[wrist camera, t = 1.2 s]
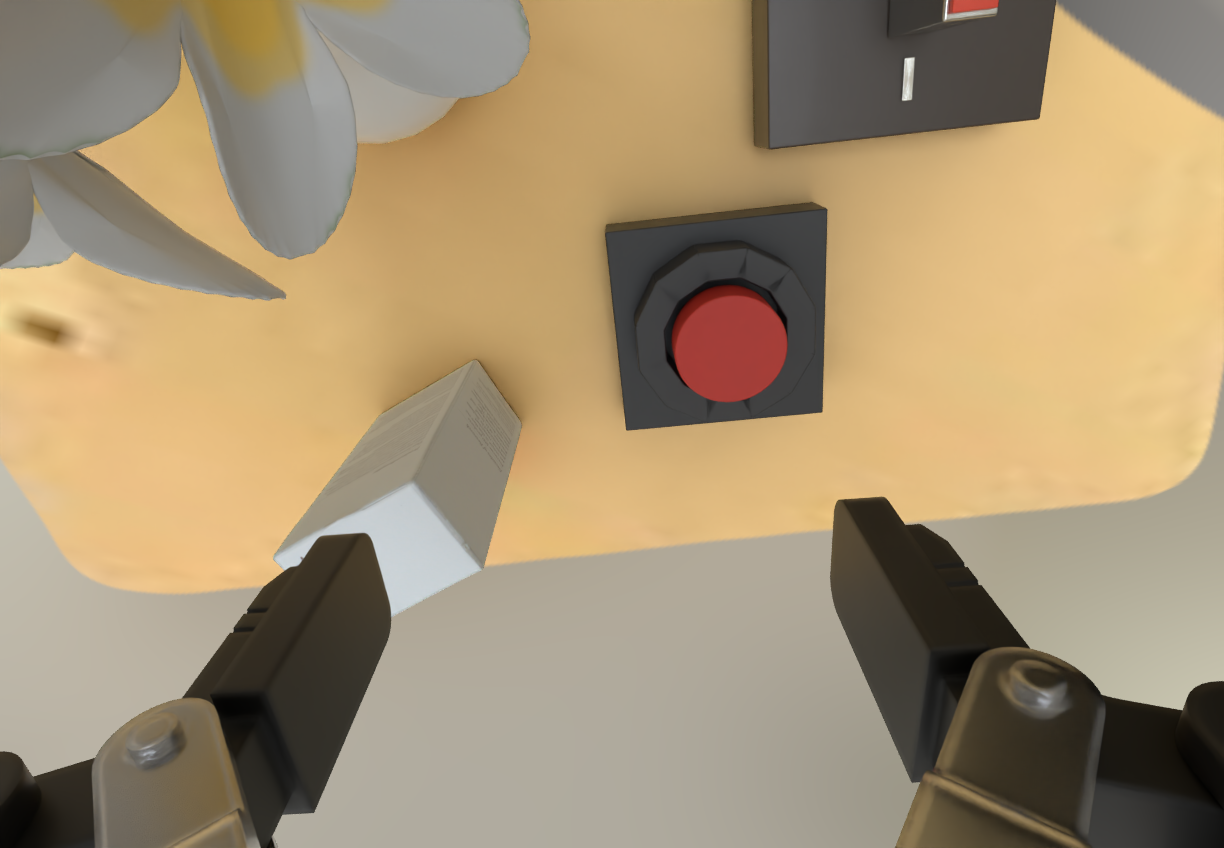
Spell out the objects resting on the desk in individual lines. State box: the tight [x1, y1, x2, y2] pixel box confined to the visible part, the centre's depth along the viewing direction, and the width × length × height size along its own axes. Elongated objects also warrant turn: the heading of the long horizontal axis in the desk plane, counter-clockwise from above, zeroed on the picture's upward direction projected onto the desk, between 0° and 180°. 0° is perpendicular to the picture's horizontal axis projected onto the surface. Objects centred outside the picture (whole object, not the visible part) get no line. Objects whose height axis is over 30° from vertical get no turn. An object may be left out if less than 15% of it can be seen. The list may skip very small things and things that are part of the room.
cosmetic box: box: [273, 360, 522, 617], centre depth 28 cm, size 6×4×12 cm
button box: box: [605, 202, 827, 430], centre depth 30 cm, size 9×9×4 cm
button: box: [672, 285, 788, 402], centre depth 27 cm, size 4×4×2 cm
